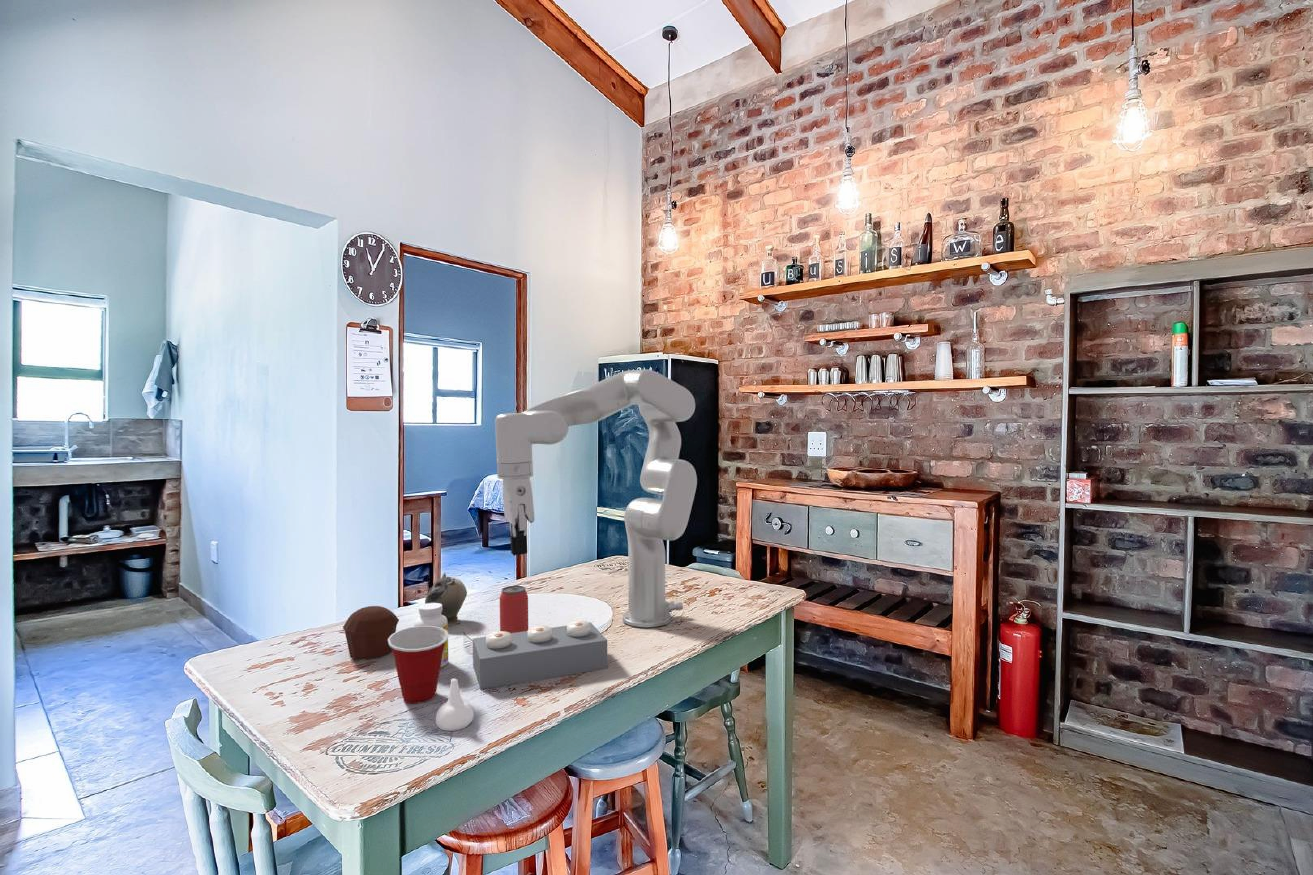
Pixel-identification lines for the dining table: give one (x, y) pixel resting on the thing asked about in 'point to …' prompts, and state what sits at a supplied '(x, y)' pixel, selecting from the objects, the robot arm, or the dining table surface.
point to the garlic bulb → (454, 711)
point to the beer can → (514, 609)
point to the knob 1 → (498, 640)
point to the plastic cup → (418, 660)
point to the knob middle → (539, 634)
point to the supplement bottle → (434, 623)
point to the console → (538, 657)
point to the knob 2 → (578, 628)
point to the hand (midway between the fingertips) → (519, 553)
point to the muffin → (370, 632)
